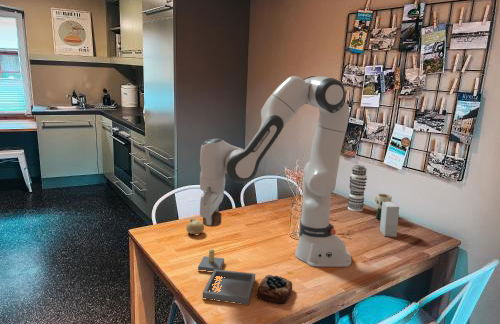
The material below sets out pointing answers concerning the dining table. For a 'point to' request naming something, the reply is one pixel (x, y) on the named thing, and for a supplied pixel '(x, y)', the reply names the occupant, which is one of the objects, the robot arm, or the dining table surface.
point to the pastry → (274, 289)
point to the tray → (231, 286)
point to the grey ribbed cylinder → (357, 188)
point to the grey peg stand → (211, 262)
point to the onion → (195, 226)
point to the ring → (214, 219)
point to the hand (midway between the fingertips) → (212, 220)
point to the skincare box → (389, 219)
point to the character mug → (379, 200)
